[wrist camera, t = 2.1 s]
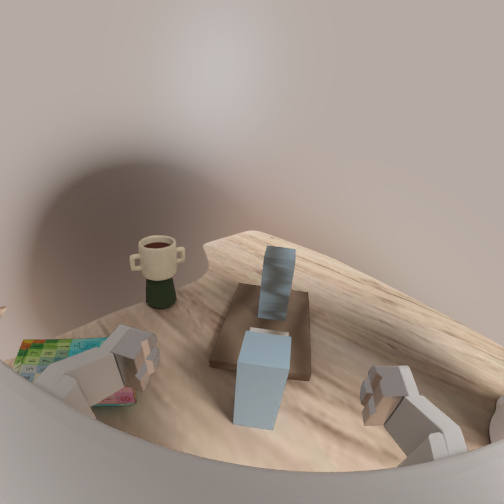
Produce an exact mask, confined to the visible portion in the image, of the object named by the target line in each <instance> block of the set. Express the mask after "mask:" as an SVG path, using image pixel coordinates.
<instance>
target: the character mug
mask: <svg viewBox="0 0 504 504" xmlns="http://www.w3.org/2000/svg"><path fill="white" fill-rule="evenodd" d="M176 252H180V258H179V259H177V258H176V257H177V253H176ZM135 259H140V265H139V266H135ZM184 261H185V248H184V247H177V248H176V241H175V239H173V238H172V237H169V236H162V235H155V236H149V237H145V238H143V239H142V240H140V241H139V254H133V255H131V256H130V268H131V270H132V271H139V270H141V273H142V275H143V276H144V277H145V278H147V281H146V302H147V303H148V304H149V305H151V306H153V307H155V308H167V307H170V306H171V305H173V304H174V303H175V301H176V293H175V288H174V284H173V279H172V277H173V276H174V275H175V273H176V271H177V264H178V263H183V262H184Z"/></svg>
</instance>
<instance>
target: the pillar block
mask: <svg viewBox="0 0 504 504" xmlns="http://www.w3.org/2000/svg"><path fill="white" fill-rule="evenodd" d="M290 353H291V337H288V336H280V335H273V334H266V333H259V332H252V331H246V332H245V336H244V340H243V343H242V347H241V350H240V354H239V358H238V361H237V374H236V389H235V403H234V418H233V424H236V425H241V426H248V427H254V428H261V429H268V430H273V428H274V424H275V421H276V417H277V414H278V410H279V407H280V403H281V400H282V396H283V392H284V388H285V385H286V381H287V377H288V373H289V369H290Z"/></svg>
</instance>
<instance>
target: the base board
mask: <svg viewBox="0 0 504 504" xmlns="http://www.w3.org/2000/svg"><path fill="white" fill-rule="evenodd" d="M294 266H295V249H290V248H282V247H274V246H267V248H266V252H265V256H264V264H263V273H262V282H261V286H256V285H249V284H243V283H239V285H238V288H237V290H236V293H235V295H234V298H233V300H232V303H231V305H230V308H229V311H228V313H227V316H226V318H225V321H224V323H223V326H222V328H221V331H220V333H219V336H218V339H217V341H216V344H215V346H214V349H213V351H212V354H211V356H210V359H209V366H211V367H216V368H221V369H226V370H232V371H237V361H238V358H239V354H240V350H241V347H242V343H243V340H244V336H245V332H246V331H252V332H259V333H266V334H273V335H280V336H288V337H291V353H290V369H289V373H288V377H287V379H294V380H304V381H309V379H310V376H311V349H310V321H309V300H308V292H301V291H293V290H291V285H292V279H293V272H294Z"/></svg>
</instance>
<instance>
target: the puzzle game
mask: <svg viewBox="0 0 504 504" xmlns="http://www.w3.org/2000/svg"><path fill="white" fill-rule="evenodd" d="M107 338H108V337H105V338H86V339H52V340H23V342H22V344H21V347H20V349H19V352H18V355H17V357H16V360H15V363H14V366H13V368H12V369H13V370H14V371H16V372H17V373H18V374H20V375H21V376H23V377H24V378H25V379H27V380H28V381H30V382H31V383H34V381H35V380H36V379H37V378H38V377H39V376H40V374H41V373H42V372H43V371H44V370H45V369H46V368H47V367H48V366H49V364H52V363H55V362H57V361H60V360H63V359H66V358H68V357H71V356H74V355H76V354H79V353H82V352H84V351H87V350H90V349H92V348H95V347H98V348H100V346H101V345H102V344H103V343H104V342H105V341H106V339H107ZM135 403H136V393H135V389H133V388H130V387H127V386H124V387H123V388H122V389H120V390H118V391H117V392H115V393H113V394H112V395H110V396H108V397H107V398H105V399H103V400H102V401H100V402H98V403H96V404H95V405H93V406H123V405H133V404H135Z"/></svg>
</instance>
